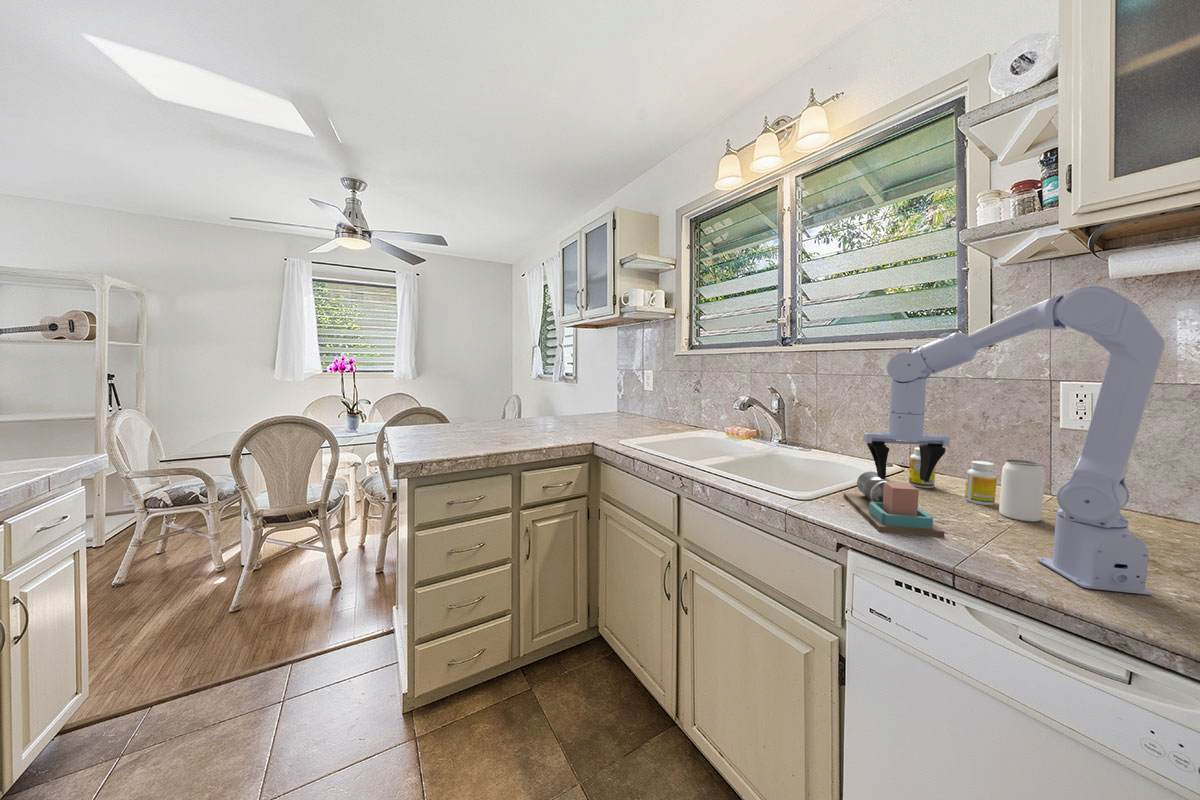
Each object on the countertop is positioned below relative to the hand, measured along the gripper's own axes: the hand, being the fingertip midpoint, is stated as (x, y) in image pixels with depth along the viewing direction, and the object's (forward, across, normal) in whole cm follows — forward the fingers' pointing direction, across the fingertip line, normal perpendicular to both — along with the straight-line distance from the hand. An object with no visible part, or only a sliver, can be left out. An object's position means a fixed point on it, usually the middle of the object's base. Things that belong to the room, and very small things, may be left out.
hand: (902, 479), depth 86 cm
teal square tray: (+9, 0, 0) cm, 9 cm away
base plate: (+9, 0, -6) cm, 11 cm away
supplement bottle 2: (+10, -25, -21) cm, 34 cm away
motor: (+9, 0, -10) cm, 13 cm away
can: (+10, -27, -11) cm, 31 cm away
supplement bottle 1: (+10, -18, -33) cm, 39 cm away
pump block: (+8, 0, 0) cm, 8 cm away
